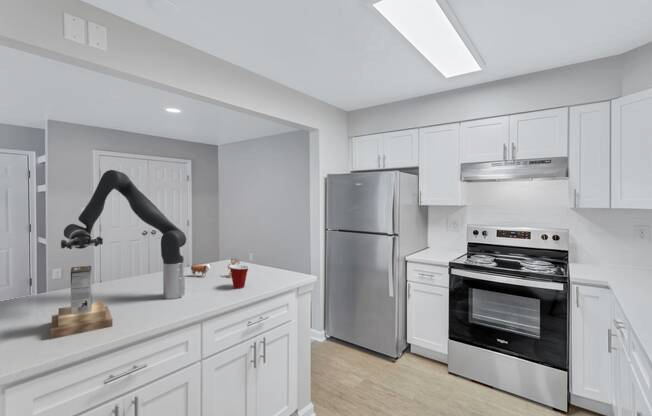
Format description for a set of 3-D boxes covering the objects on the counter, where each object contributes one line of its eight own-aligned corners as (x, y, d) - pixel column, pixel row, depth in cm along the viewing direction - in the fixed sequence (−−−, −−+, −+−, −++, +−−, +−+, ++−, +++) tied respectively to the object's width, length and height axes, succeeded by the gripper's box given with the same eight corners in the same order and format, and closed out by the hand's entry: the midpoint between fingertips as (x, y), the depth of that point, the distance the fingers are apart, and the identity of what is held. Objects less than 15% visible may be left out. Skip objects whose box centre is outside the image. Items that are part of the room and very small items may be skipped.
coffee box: (71, 307, 125) (71, 267, 125) (91, 304, 129) (91, 265, 129) (70, 314, 118) (69, 271, 118) (91, 311, 122) (91, 269, 121)
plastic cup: (252, 288, 177) (252, 266, 177) (232, 291, 171) (233, 268, 170) (245, 283, 186) (245, 263, 186) (226, 286, 180) (226, 265, 179)
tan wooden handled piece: (228, 278, 197) (228, 259, 197) (225, 277, 200) (225, 258, 200) (241, 275, 204) (241, 257, 204) (238, 274, 207) (238, 256, 206)
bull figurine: (208, 278, 197) (209, 265, 197) (189, 276, 200) (189, 263, 200) (212, 276, 201) (212, 263, 201) (193, 275, 204) (193, 262, 204)
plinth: (107, 312, 136) (107, 299, 136) (112, 326, 123) (112, 311, 122) (52, 322, 125) (52, 307, 125) (50, 339, 111) (50, 322, 111)
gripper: (59, 232, 139) (60, 238, 127) (99, 229, 149) (103, 234, 137) (60, 248, 140) (62, 256, 128) (99, 244, 149) (104, 251, 137)
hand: (83, 245), depth 132 cm, fingers open, 8 cm apart
